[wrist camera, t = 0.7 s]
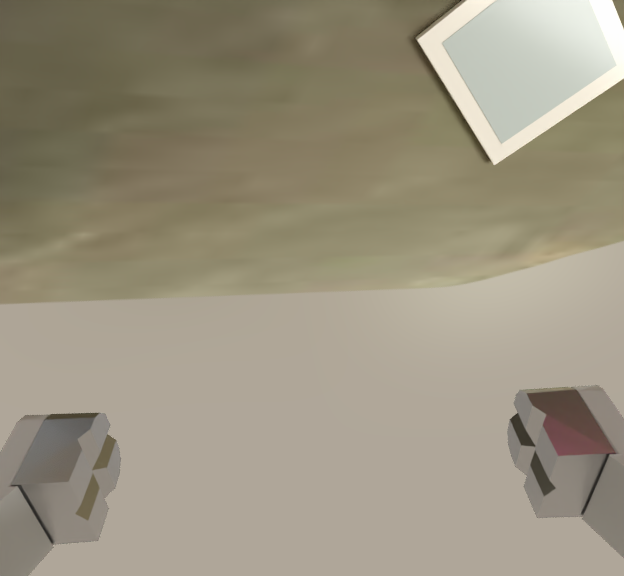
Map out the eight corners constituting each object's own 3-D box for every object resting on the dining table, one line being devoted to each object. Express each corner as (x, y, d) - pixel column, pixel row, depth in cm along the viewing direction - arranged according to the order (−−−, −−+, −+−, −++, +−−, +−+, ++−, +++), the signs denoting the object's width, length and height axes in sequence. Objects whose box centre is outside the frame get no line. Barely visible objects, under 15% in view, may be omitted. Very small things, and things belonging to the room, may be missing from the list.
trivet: (415, 37, 44) (417, 40, 44) (570, -88, 40) (577, -88, 39) (491, 161, 51) (494, 165, 50) (632, 65, 46) (639, 68, 45)
